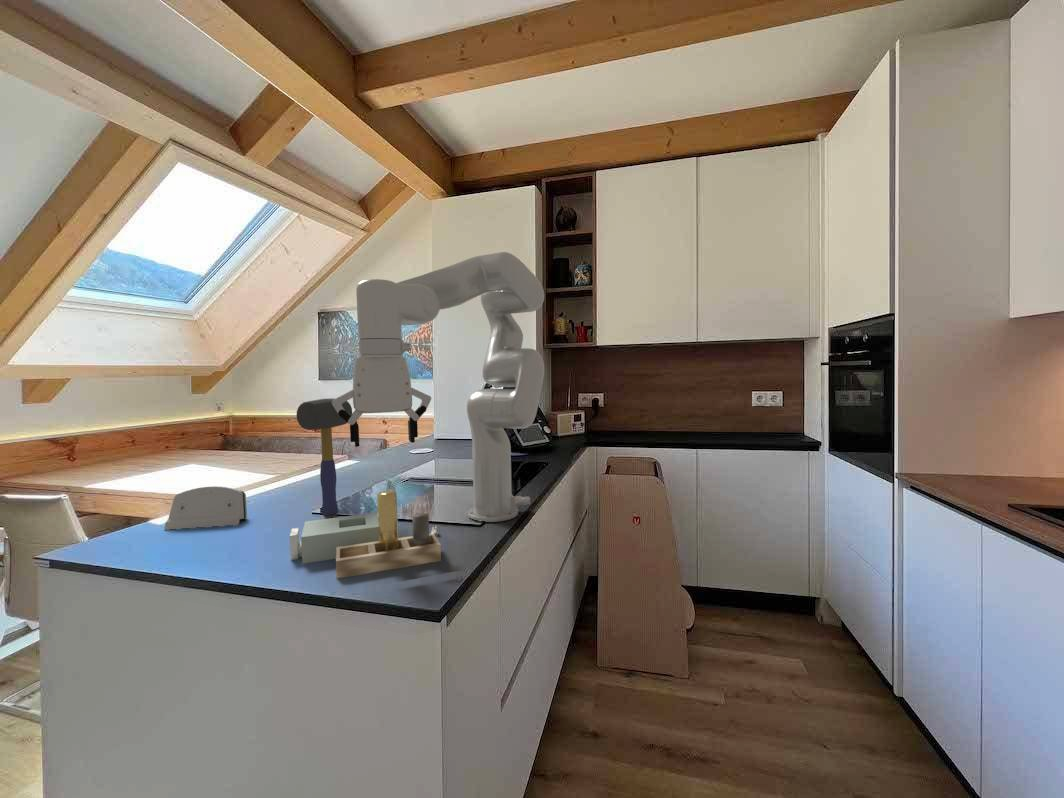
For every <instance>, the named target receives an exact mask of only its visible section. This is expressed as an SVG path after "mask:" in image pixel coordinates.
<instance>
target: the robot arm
mask: <svg viewBox="0 0 1064 798" xmlns="http://www.w3.org/2000/svg"><path fill="white" fill-rule="evenodd" d="M355 292H356V312H357V314H356V316H357V318H356V319H357V334H358V335H357V337H358V357H355V358H354V363H353V370H352V389H351V390H349V391H347V392H345V393H344V394H342V395H339V396H338V397H336V398H333V399H334V400H332V405H333V406H334V408H335V410H336V411H337V413H338V414H339V416H340V417H342V418H343V419H344V420H345V421H346V422H348V423H347V424H349V431H350V433H349V435H350V443H354V446H355V448H358V447H360V429H359V427H360V426H359V423H358V420H359V419H360V418H361V416H362V415H363V414H381V413H398V412H399V413H400V412H405V414H406V415H407V416H408V418H409V419H408V421H407V427H408V429H407V431H408V441H409V442H410V443H411V444H413V443H416V441H415V440H416V438H418V437H419V436H418V435H419V433H418V432H419V431H418V421H419V419H420V418H421V417H422V416H423V415H424V413H426V411H427V409H428V407H429V405H430V402H431V400H432V397H431V396H430V395H428V394H427V393H424V392H422V391H419V390H417V389H415V388H413V387H412V382H411V375H410V374H411V373H410V369H409V368H410V367H409V363H408V360H407V357H406V356H405V357H403V356H404V353H405V352H410V351H411V343H406V342H404V341H403V337H402V336H403V332H402V331H403V330H402V329H403V328H402V327H403V326H415V325H423V324H427V323H430V322H432V321H433V320H434V319H436V318H437V316H438V314H439V312H440V311H441V310H445V309H451V308H454V307H457V306H460V305H463V304H465V303H467V302H469V301H471V300H473V299H475V298H477V297H478V296H480V302H481V306H482V308H483V309H484V312H485V315H486V318H487V320H488V322H489V325H490V337H489V342H488V345H487V350H486V353H485V358H484V361H483V366H482V378H483V380H484V382H485V383H486V384H487V385H488V386H493V387H499V388H482V389H478V390H476V391H474V392H473V393H471V394H470V396H469V398H468V400H467V404H466V411H467V412H466V413H467V418H468V423H469V426H470V427H469V428H470V433H471V443H472V444H471V448H472V449H471V451H472V456H471V457H472V479H473V480H472V484H473V485H472V486H473V506H472V507H471V508H469V509H468V511H467V517H468V518H469V519H470V518H471V519H470V520H472V519H474V520H473V521H475V520H481V521H485V522H484V523H497V522H505V521H509V520H512V519H514V518H515V517H517V516H518V514H519V509H518V507H519V506H522V505H523V506H525V505H526V506H527V505H530V504H531V498H530V496H522V495H518V496H517V495H516V496H514V495H513V494H512V461H511V460H512V459H511V455H512V454H511V453H512V451H511V450H512V449H511V448H512V447H511V441H510V438H509V436H508V434H507V432H506V430H505V429H519V430H520V429H527V428H529V427H531V425H532V424H533V423H534V422H535V420H536V419H535V418H536V416H537V412H538V408H539V403H540V398H541V393H542V387H543V383H544V379H545V363H544V359H543V356H542V355H541V353H540V352H539V351H538V350H536V349H533V348H529V347H528V348H525V347H524V348H522V346H523V341H524V334H523V332H522V328H521V327H520V325H519V324H518V322H517V321H516V320H515V318H514V317H513V315H512V314H524V313H533V312H535V311H537V310H539V309H540V308H541V307H542V306H543V303H544V301H545V291H544V287H543V285H542V283H541V281H540V280H539V278H538V277H537V276H536V275H535V274H534V273H533V272H532V271H531V269H530V268H528V266H526V264H525V263H524V262H522V261H521V260H520V258H518V257H517V256H515V255H514V254H512V253H510V252H507V251H502V252H501V251H500V252H496V253H488V254H483V255H482V254H481V255H478V256H476V255H475V256H473V257H470V258H467V259H464V260H462V261H459V262H457V263H454V264H451V265H449V266H446V267H442V268H439V269H437V270H432V271H429V272H427V273H424V274H422V275H418V276H414V277H412V278H408V279H405V280H401V281H399V282H395V281H392V280H387V279H381V278H380V279H379V278H375V279H374V278H372V279H371V278H370V279H364V280H361V281H360V282H358V283H357V285H356V291H355ZM505 387H506V388H505ZM510 387H511V388H510ZM512 387H513V388H512ZM514 387H515V388H514ZM413 396H414V397H415V398H417V399H420V400H421V402H420V405H419V406H418V408H417V409H415V410H414V409H413V408H412V406H413ZM351 399H352V401H353V402H352V405H353V408H354V410H353V411H352V414H351V415H350V414H349V413H347V412H346V411H345V410H344V408H343V407H342V403H344V402H345V401H349V400H351ZM481 521H480V522H481Z"/></svg>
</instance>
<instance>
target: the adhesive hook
mask: <svg viewBox="0 0 1064 798" xmlns="http://www.w3.org/2000/svg"><path fill="white" fill-rule="evenodd" d="M434 526H435V527H434ZM434 526H432V528H431V532H430V533H434V534H435V536H436V537H437V536H438V527H437V526H436V525H434Z"/></svg>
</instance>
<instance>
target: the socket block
mask: <svg viewBox="0 0 1064 798" xmlns="http://www.w3.org/2000/svg"><path fill="white" fill-rule="evenodd" d="M300 539H301V540H300V542H301V545H302V557H301V558H302V559H301V561H302V565H304V564H309V563H317V562H323V561H330V560H334V559H335V560H336V547H341V546H348V545H355V544H362V543H369V542H376V541H379V524H378V512H370V513H363V514H355V515H354V514H353V515H345V516H338V517H337V516H336V517H333V518H322V519H316V520H315V519H314V520H305V521H304V525H303V528H302V532H301V536H300Z"/></svg>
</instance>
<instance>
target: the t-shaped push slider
mask: <svg viewBox="0 0 1064 798" xmlns="http://www.w3.org/2000/svg"><path fill="white" fill-rule="evenodd" d="M289 545H290V547H289V549H290V551H289V552H290V560H291V561H294V560H299V558H302V545H301V541H300V528H299V527H295V528H294V527H293V528H291V530H290V533H289Z"/></svg>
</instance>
